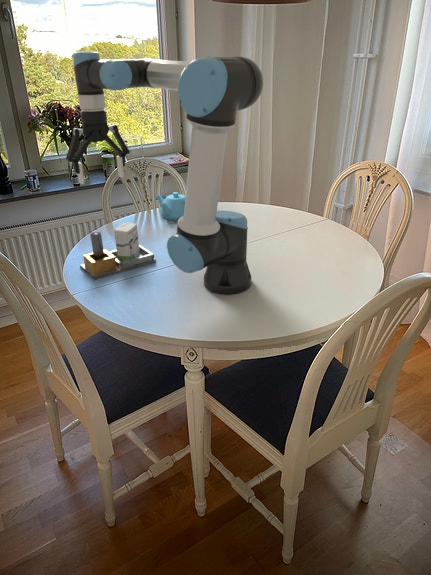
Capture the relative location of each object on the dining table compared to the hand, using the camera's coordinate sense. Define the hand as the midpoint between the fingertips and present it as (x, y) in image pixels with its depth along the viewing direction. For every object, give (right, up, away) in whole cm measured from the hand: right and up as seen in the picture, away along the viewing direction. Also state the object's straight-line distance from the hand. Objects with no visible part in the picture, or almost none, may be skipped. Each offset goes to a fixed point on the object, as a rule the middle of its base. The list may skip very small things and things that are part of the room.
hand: (102, 180), depth 144 cm
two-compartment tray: (+3, -27, +11) cm, 29 cm away
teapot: (+19, -3, +56) cm, 59 cm away
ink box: (+6, -25, +13) cm, 29 cm away
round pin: (-2, -28, +7) cm, 29 cm away
